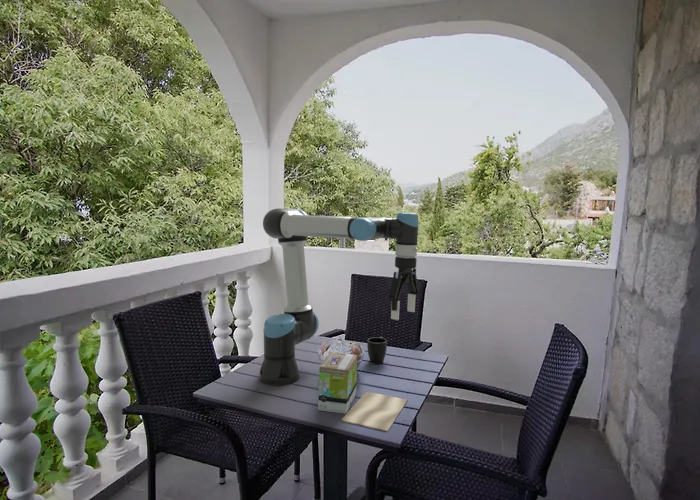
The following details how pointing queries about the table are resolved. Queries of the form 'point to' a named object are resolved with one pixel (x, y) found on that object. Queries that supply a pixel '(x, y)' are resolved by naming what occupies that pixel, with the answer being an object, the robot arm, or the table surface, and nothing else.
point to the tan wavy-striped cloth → (375, 411)
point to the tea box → (337, 382)
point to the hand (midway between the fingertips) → (403, 315)
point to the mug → (377, 349)
